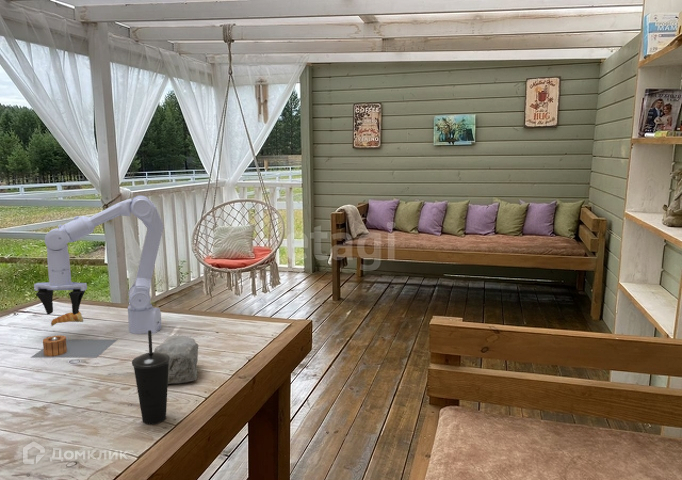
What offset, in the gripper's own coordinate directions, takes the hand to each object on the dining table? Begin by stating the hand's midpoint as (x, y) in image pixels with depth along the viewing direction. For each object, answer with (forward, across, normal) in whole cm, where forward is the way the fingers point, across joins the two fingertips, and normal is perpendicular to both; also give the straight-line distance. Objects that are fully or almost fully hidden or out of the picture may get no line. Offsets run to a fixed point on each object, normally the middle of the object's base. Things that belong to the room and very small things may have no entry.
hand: (62, 313), depth 152 cm
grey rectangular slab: (+9, +7, -8) cm, 14 cm away
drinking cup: (+10, +42, -45) cm, 62 cm away
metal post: (+8, +3, -11) cm, 14 cm away
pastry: (+10, -8, +19) cm, 23 cm away
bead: (+8, +3, -11) cm, 14 cm away
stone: (+10, +40, -23) cm, 47 cm away
